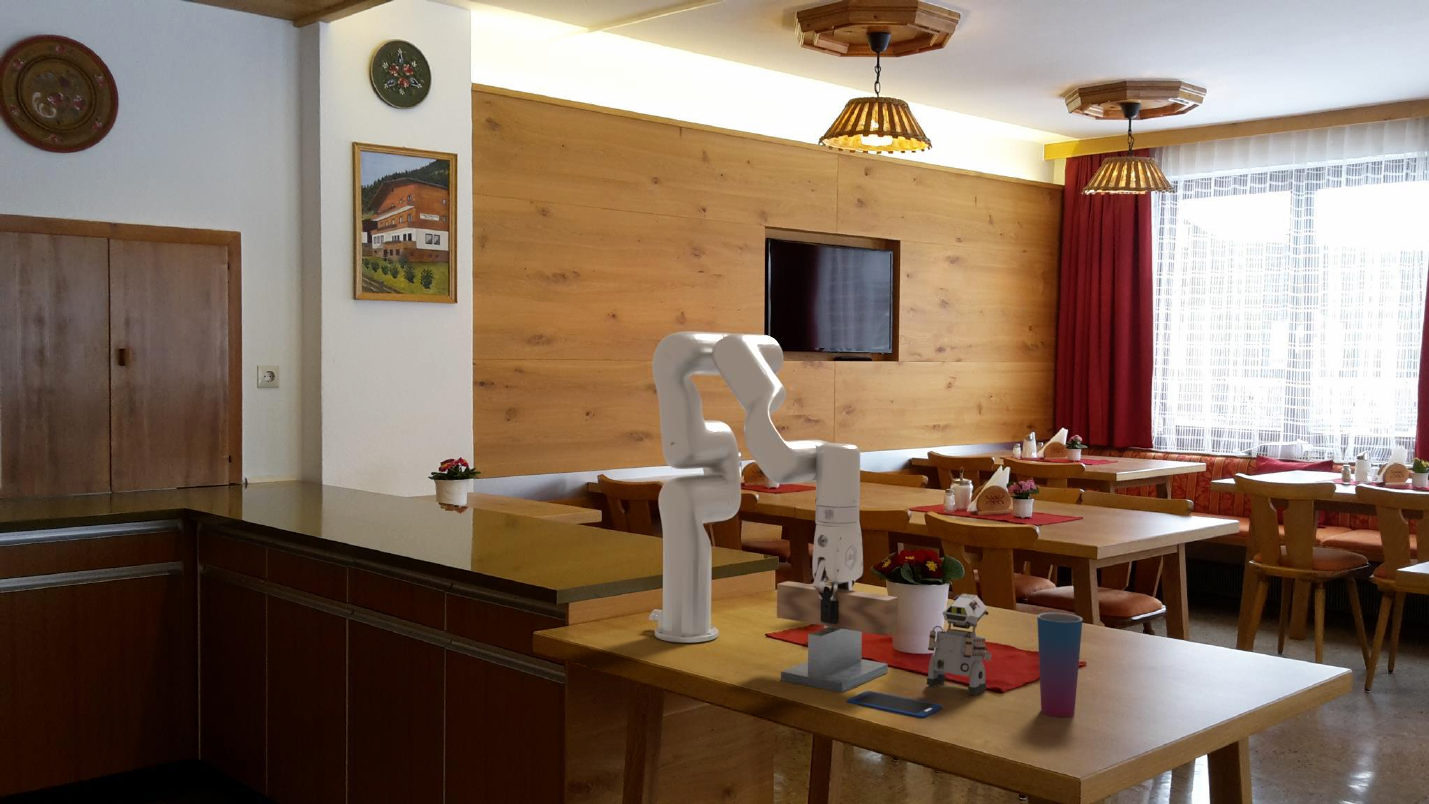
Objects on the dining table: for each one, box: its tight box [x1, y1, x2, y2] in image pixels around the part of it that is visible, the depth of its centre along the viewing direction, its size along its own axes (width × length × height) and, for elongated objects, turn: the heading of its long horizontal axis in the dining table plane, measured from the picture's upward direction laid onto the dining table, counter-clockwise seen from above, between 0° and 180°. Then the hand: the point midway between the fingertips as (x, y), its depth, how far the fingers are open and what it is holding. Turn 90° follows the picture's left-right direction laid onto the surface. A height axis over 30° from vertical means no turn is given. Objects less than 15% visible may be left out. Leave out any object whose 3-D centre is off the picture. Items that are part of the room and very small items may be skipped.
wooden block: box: [776, 580, 899, 637], centre depth 202 cm, size 22×4×6 cm, turn 54°
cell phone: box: [846, 690, 943, 719], centre depth 186 cm, size 7×14×1 cm, turn 53°
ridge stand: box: [780, 627, 889, 694], centre depth 202 cm, size 12×16×8 cm
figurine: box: [926, 593, 993, 697], centre depth 197 cm, size 9×12×15 cm
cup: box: [1036, 612, 1083, 718], centre depth 183 cm, size 7×7×15 cm
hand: (835, 619), depth 202 cm, fingers closed on wooden block, 3 cm apart
